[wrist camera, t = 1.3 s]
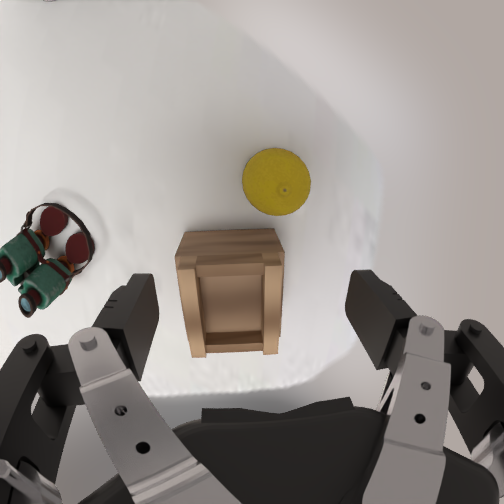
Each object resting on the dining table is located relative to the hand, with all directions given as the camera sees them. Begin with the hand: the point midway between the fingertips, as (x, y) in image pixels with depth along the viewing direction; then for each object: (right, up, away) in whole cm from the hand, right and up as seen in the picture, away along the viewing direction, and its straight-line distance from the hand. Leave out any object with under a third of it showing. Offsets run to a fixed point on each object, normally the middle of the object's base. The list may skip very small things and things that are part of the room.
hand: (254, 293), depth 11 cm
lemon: (+2, +9, +16) cm, 18 cm away
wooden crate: (-2, 0, +19) cm, 19 cm away
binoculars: (-21, +4, +16) cm, 27 cm away
